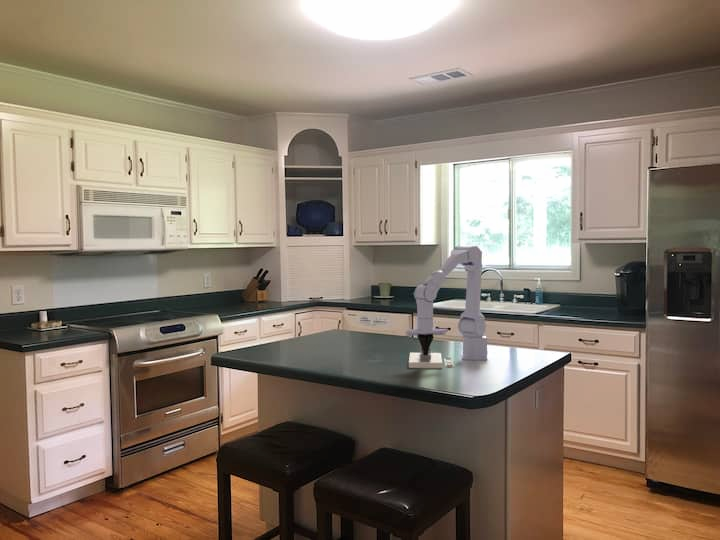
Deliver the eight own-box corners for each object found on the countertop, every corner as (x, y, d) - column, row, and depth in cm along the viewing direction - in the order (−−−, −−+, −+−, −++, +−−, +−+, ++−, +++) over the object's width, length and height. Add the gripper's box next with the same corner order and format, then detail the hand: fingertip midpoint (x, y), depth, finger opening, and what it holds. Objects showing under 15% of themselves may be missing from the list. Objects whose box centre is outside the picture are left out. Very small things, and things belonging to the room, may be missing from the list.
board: (441, 358, 228) (440, 352, 228) (442, 368, 210) (442, 362, 210) (410, 357, 229) (410, 352, 229) (408, 367, 211) (408, 362, 211)
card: (452, 359, 225) (452, 357, 225) (454, 367, 211) (454, 365, 211) (443, 359, 226) (443, 357, 226) (445, 367, 212) (445, 365, 212)
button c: (430, 364, 215) (430, 353, 215) (431, 367, 211) (430, 355, 211) (420, 364, 216) (419, 353, 216) (419, 366, 212) (419, 355, 212)
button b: (430, 357, 221) (430, 346, 221) (430, 359, 217) (430, 348, 217) (420, 357, 222) (420, 346, 221) (420, 359, 218) (420, 348, 217)
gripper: (442, 316, 217) (442, 352, 218) (403, 316, 216) (403, 353, 217) (446, 318, 210) (446, 355, 211) (407, 319, 209) (407, 357, 210)
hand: (425, 354), depth 213 cm, fingers closed, pressing on button c
